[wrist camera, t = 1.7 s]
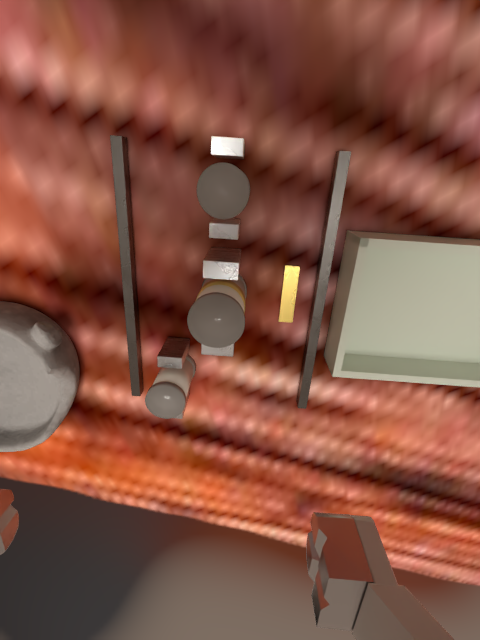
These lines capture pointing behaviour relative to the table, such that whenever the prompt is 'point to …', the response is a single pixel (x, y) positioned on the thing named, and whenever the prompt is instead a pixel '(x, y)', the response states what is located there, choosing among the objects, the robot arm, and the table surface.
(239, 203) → the fuse cartridge near arm
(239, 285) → the cylinder
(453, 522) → the table surface
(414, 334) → the tray
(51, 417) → the dish
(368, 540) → the robot arm
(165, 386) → the fuse cartridge near camera
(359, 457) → the table surface
